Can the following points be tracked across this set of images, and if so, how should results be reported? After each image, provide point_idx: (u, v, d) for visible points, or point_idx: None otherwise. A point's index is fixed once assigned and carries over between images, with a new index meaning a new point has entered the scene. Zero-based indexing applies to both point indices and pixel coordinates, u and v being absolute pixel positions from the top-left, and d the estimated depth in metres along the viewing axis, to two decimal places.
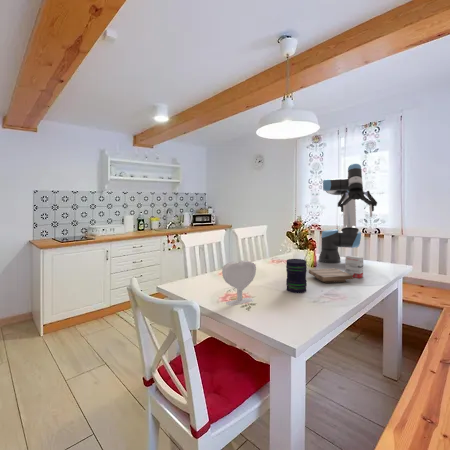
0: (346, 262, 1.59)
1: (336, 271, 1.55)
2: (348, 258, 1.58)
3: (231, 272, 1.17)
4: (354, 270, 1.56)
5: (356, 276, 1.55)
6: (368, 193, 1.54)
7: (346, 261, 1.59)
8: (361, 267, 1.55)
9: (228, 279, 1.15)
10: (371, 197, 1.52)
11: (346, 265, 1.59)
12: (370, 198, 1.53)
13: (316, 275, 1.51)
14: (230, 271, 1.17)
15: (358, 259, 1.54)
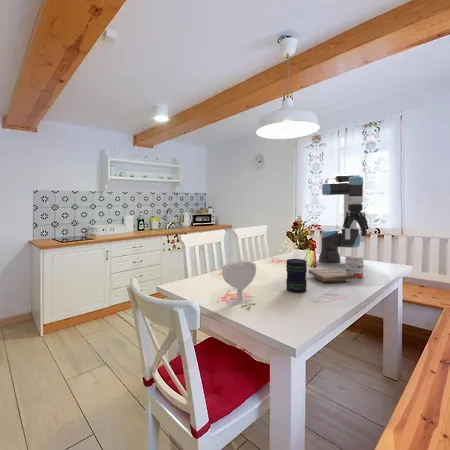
0: (346, 262, 1.59)
1: (336, 271, 1.55)
2: (348, 258, 1.58)
3: (231, 272, 1.17)
4: (354, 270, 1.56)
5: (356, 276, 1.55)
6: (360, 215, 1.50)
7: (346, 261, 1.59)
8: (361, 267, 1.55)
9: (228, 279, 1.15)
10: (361, 221, 1.48)
11: (346, 265, 1.59)
12: (362, 221, 1.49)
13: (316, 275, 1.51)
14: (230, 271, 1.17)
15: (358, 259, 1.54)
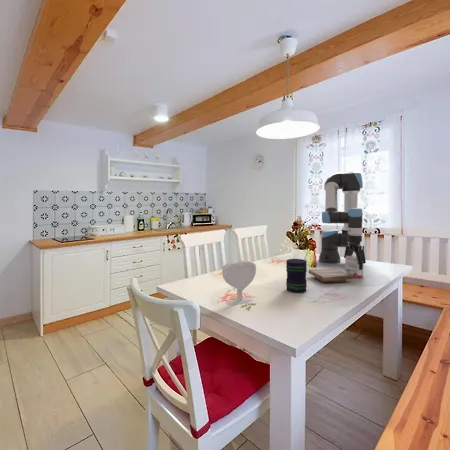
0: (346, 262, 1.59)
1: (336, 271, 1.55)
2: (348, 258, 1.58)
3: (231, 272, 1.17)
4: (354, 270, 1.56)
5: (356, 276, 1.55)
6: (359, 249, 1.51)
7: (346, 261, 1.59)
8: None
9: (228, 279, 1.15)
10: (359, 255, 1.51)
11: (346, 265, 1.59)
12: None
13: (316, 275, 1.51)
14: (230, 271, 1.17)
15: None
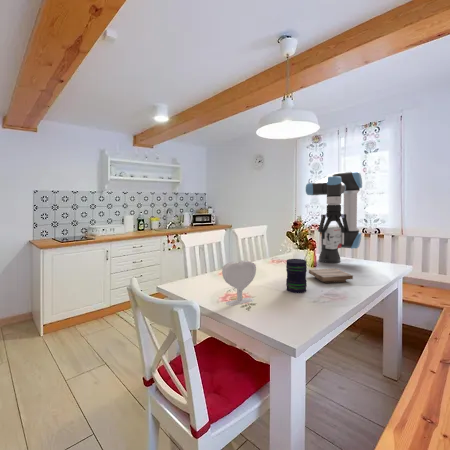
0: (333, 234, 1.47)
1: (336, 271, 1.55)
2: (334, 229, 1.48)
3: (231, 272, 1.17)
4: (338, 240, 1.50)
5: (339, 246, 1.51)
6: (344, 217, 1.50)
7: (333, 233, 1.47)
8: None
9: (228, 279, 1.15)
10: (346, 223, 1.50)
11: (334, 237, 1.48)
12: (344, 223, 1.51)
13: (316, 275, 1.51)
14: (230, 271, 1.17)
15: (340, 228, 1.51)
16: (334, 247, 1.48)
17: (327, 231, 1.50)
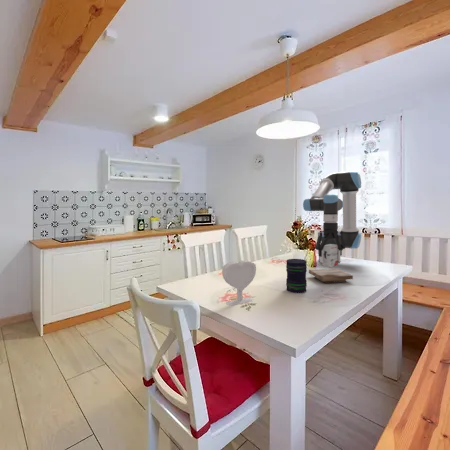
0: (330, 252, 1.48)
1: (336, 271, 1.55)
2: (331, 247, 1.48)
3: (231, 272, 1.17)
4: (335, 258, 1.51)
5: (336, 263, 1.52)
6: (341, 235, 1.51)
7: (330, 251, 1.48)
8: None
9: (228, 279, 1.15)
10: (342, 240, 1.51)
11: (331, 255, 1.48)
12: (340, 240, 1.52)
13: (316, 275, 1.51)
14: (230, 271, 1.17)
15: (337, 246, 1.52)
16: (331, 265, 1.49)
17: (324, 249, 1.50)
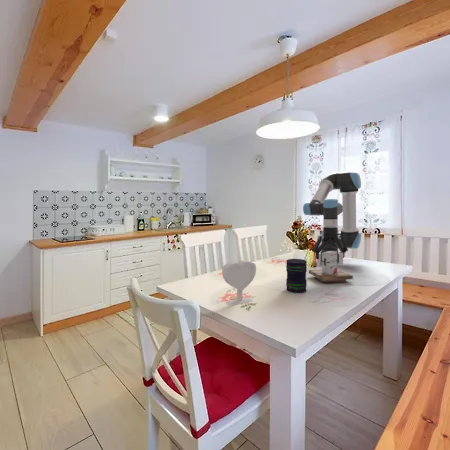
0: (330, 259, 1.48)
1: None
2: (331, 254, 1.49)
3: (231, 272, 1.17)
4: (334, 265, 1.51)
5: (335, 270, 1.52)
6: (341, 238, 1.51)
7: (330, 258, 1.48)
8: None
9: (228, 279, 1.15)
10: (343, 243, 1.51)
11: (330, 262, 1.48)
12: (342, 244, 1.52)
13: (316, 275, 1.51)
14: (230, 271, 1.17)
15: (336, 253, 1.52)
16: (331, 272, 1.49)
17: (323, 256, 1.50)
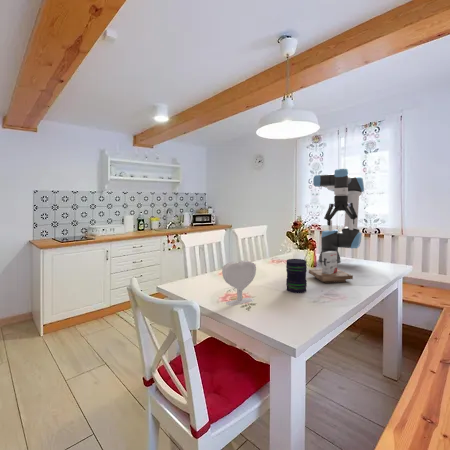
0: (330, 259, 1.48)
1: None
2: (331, 254, 1.49)
3: (231, 272, 1.17)
4: (334, 265, 1.51)
5: (335, 270, 1.52)
6: (351, 206, 1.62)
7: (330, 258, 1.48)
8: None
9: (228, 279, 1.15)
10: (353, 210, 1.62)
11: (330, 262, 1.48)
12: (352, 211, 1.63)
13: (316, 275, 1.51)
14: (230, 271, 1.17)
15: (336, 253, 1.52)
16: (331, 272, 1.49)
17: (323, 256, 1.50)
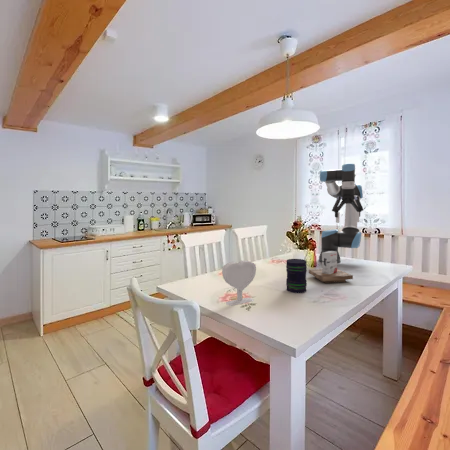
0: (330, 259, 1.48)
1: None
2: (331, 254, 1.49)
3: (231, 272, 1.17)
4: (334, 265, 1.51)
5: (335, 270, 1.52)
6: (358, 199, 1.70)
7: (330, 258, 1.48)
8: None
9: (228, 279, 1.15)
10: (359, 203, 1.71)
11: (330, 262, 1.48)
12: (358, 204, 1.71)
13: (316, 275, 1.51)
14: (230, 271, 1.17)
15: (336, 253, 1.52)
16: (331, 272, 1.49)
17: (323, 256, 1.50)
